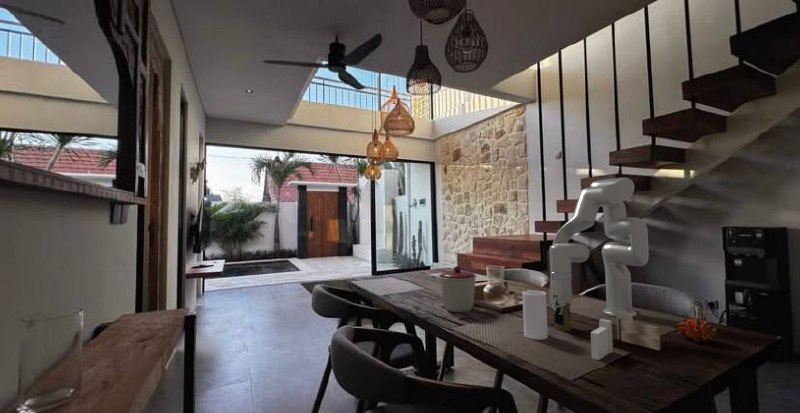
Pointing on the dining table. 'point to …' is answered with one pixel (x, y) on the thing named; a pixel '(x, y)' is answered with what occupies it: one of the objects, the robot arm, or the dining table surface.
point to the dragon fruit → (697, 329)
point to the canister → (458, 289)
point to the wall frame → (606, 335)
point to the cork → (564, 319)
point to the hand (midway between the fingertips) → (562, 322)
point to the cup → (535, 314)
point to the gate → (639, 334)
